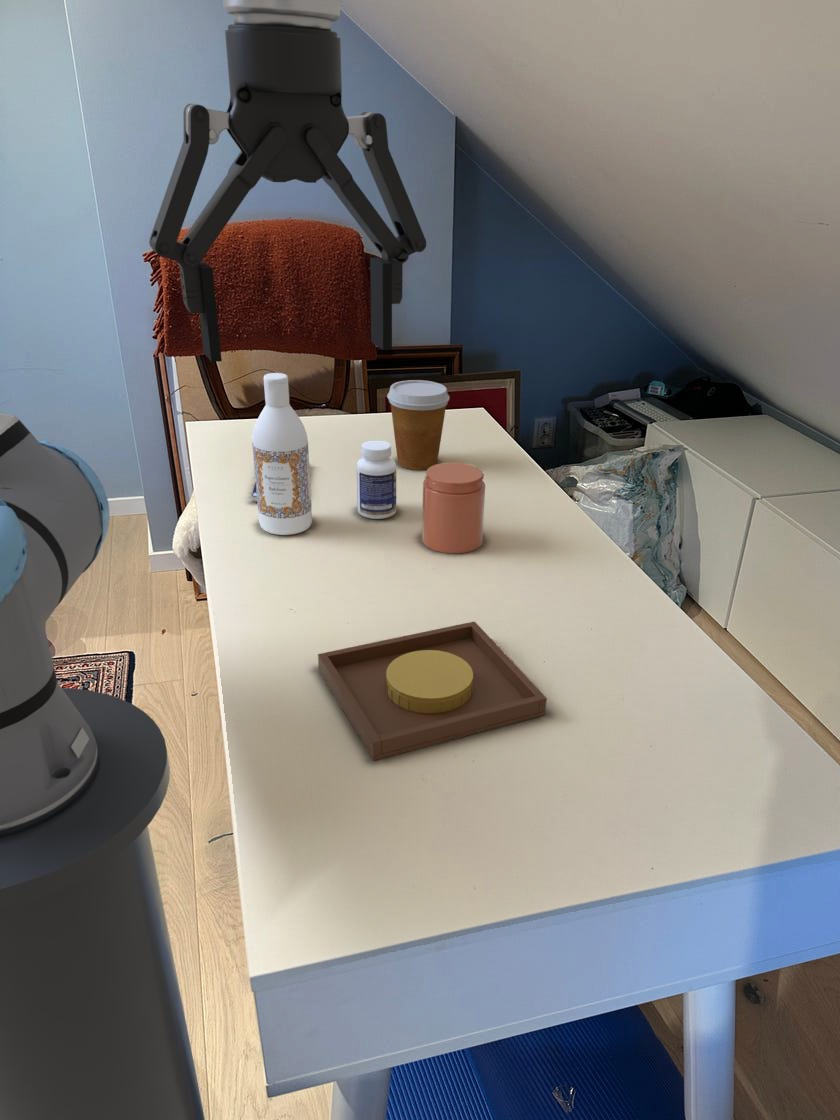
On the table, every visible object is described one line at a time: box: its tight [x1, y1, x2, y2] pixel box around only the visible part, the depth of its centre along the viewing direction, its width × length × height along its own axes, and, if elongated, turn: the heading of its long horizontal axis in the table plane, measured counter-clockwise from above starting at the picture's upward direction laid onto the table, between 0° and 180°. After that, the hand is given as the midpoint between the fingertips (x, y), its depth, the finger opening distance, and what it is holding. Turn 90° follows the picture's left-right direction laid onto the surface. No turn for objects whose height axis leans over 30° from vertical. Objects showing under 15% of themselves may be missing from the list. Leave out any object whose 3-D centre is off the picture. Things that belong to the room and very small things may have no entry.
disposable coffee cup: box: [386, 379, 450, 471], centre depth 139 cm, size 10×10×12 cm
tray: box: [317, 621, 548, 761], centre depth 88 cm, size 18×16×2 cm
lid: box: [385, 650, 474, 714], centre depth 87 cm, size 9×9×2 cm
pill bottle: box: [356, 440, 397, 520], centre depth 122 cm, size 5×5×10 cm
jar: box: [421, 462, 486, 554], centre depth 116 cm, size 8×8×10 cm
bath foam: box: [251, 372, 313, 536], centre depth 114 cm, size 7×7×20 cm
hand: (300, 351), depth 70 cm, fingers open, 13 cm apart
